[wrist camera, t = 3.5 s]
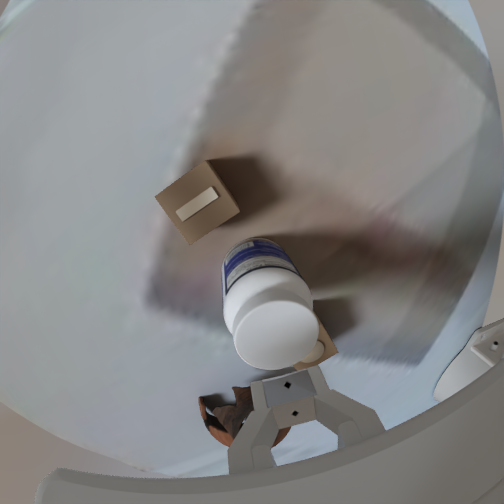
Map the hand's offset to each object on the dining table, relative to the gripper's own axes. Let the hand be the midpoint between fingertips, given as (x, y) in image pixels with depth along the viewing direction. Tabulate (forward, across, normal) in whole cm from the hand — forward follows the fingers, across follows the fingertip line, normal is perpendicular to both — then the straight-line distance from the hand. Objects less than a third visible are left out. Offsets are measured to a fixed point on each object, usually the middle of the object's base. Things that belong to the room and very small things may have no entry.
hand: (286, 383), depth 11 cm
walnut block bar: (+14, -2, +7) cm, 15 cm away
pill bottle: (+14, 0, 0) cm, 14 cm away
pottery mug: (+14, -5, -17) cm, 22 cm away
